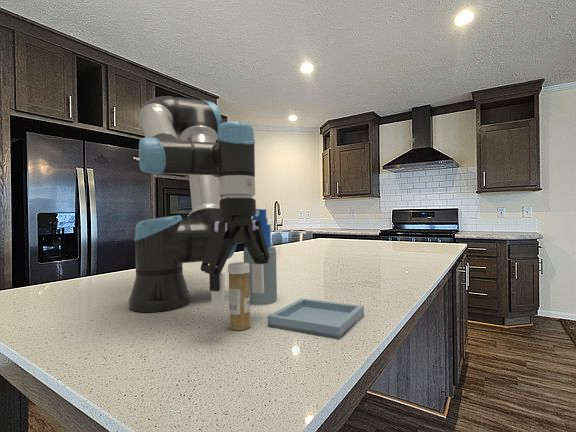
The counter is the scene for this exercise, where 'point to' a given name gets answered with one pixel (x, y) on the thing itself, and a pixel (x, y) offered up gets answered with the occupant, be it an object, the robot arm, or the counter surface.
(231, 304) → the sprinkles bottle
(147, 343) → the counter surface
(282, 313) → the tray
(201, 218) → the robot arm
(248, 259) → the spray bottle
